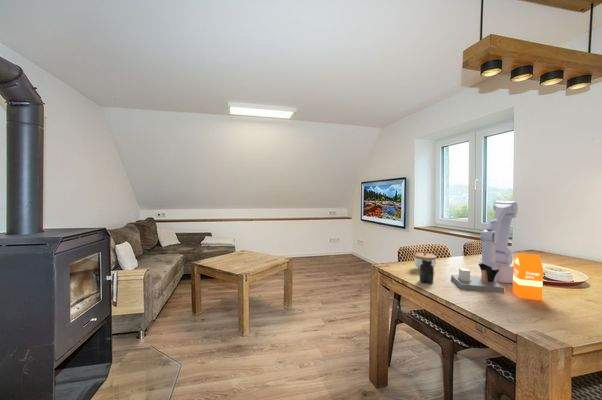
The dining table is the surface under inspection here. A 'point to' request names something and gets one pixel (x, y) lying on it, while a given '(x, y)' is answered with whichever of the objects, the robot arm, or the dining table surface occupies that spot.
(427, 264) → the supplement bottle
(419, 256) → the lidded bowl
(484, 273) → the peg
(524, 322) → the dining table surface
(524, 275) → the orange juice
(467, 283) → the socket board
